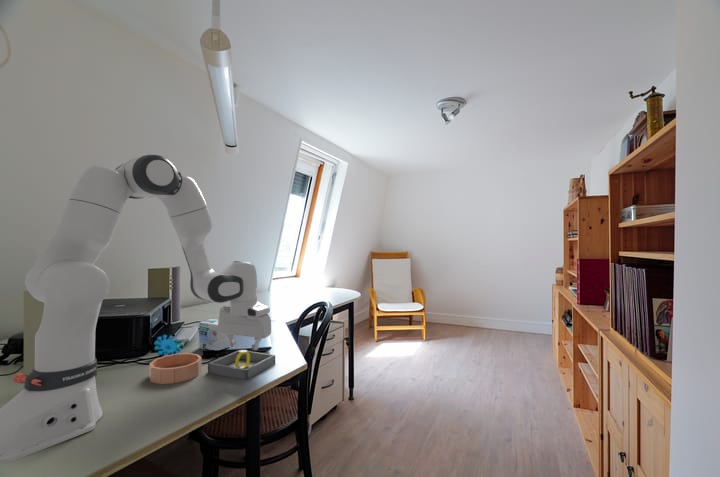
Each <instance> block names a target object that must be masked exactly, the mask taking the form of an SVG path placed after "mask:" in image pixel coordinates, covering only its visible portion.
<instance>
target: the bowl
mask: <svg viewBox="0 0 720 477" xmlns="http://www.w3.org/2000/svg"><path fill="white" fill-rule="evenodd" d="M202 358H203V357H202V356H201V355H200V354H196V353H190V352H188V353H187V352H185V353H184V352H183V353H182V352H179V354H175V353H173V355H171V354H168V355H167V356H164V355H162V356H161V357H157V358H154V360H152V361H151V362H150V363H149V368H148V370H149V373H148V374H149V375H148V376H149V381H150V382H151V383H155V384H159V385H165V384H166V385H167V384H169V385H170V384H171V385H172V384H177V383H181V382H186V381H190V380H192V379H194V378H196V377H198V376H199V375H200V374H201V373H202V369H203V368H202V366H203V365H202V363H203V361H202V360H203V359H202Z"/></svg>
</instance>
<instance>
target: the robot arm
mask: <svg viewBox="0 0 720 477" xmlns="http://www.w3.org/2000/svg"><path fill="white" fill-rule="evenodd" d="M154 197H155V198H157V199H159V201H160V202H162V203H163V205H164V207H165V208H166V211H167V214H168V216H169V219H170V221H171V224H172V226H173V228H174V230H175V232H176V235H177V237H178V239H179V242H180V245H181V247H182V248H181V249H182V251H183V254H184V256H185V260H186V263H187V266H188V269H189V272H190V273H189V274H190V284H189V285H190V286H189V287H190V292H191V293H192V294H193V296H194V297H196V298H197V299H199V300H203V301H210V302H212V303H218V304H221V303H226V302H230V303H229V306H227V305H223V306H222V307H220V309H219V316H218V319H217V320H218V331H219V332H220V333H226V334H227V338H228V340H229V342H230V347H232V348H234V347H237V340H235V338H234V336H235V335H236V336H241V337H250V338H253V340H254V341H255V342H254V343H253V344H251V350H252V351H253V350H254V351H257V350H259V345H260V343H261V341H262V339H266V338H268V337H270V336H271V334H272V319H271V316H270V315H269V313H270V311H271V309H270V306H267V305H265V304H263V303H261V302H260V301H258V296H257V289H258V288H257V287H258V276H257V269H256V265H255V264H253V262H249V261H242V260H241V261H240V260H234V261H232V262H231V263H230V264H229V265H228V266H226V267H225V268H223V269H221V270H219V271H215V270H214V269H213V268H212V266H211V265H210V262H209V259H208V256H207V251H206V249H205V243H204V242H205V239H206V237H207V236H208V234H210V232H211V230H212V227H213V223H212V222H213V221H212V215H211V212H210V210H209V207H208V205H207V202H206V200H205V197H204V196H203V193H202V191H201V189H200V188H199V185H198V184H197V182H196V180H194V178H192V177H190V176H188V175H183V174H182V173H181V172H180V171H179V170H178V169H177V167H176V166H175V165H174V164H173V163H172V161H171V160H169V159H168V158H166V157H164V156H162V155H159V154H146V155H142V156H140V157H135V158H132V159H130V160H128V161H126V162H125V163H122V164H121V165H119V166H117V167H116V168H113V167H110V166H107V165H92V166H90V167H88V168H86V169H85V170H84V171H83V173H82V175H81V176H80V177H79V179H78V180H77V182H76V184H75V185H74V187H73V189H72V191H71V193H70V195H69V197H68V200H67V203H66V204H65V208H64V209H63V212H62V215H61V218H60V220H59V223H58V225H57V227H56V229H55V231H54V234H53V235H52V236H51V238H50V240H49V241H48V242H47V244H46V246H45V247H44V249H43V251H42V252H41V253H40V255H39V256H38V258H37V261H36V262H35V264H34V266H33V267H31V268H30V270H28V272H27V273H26V276H25V279H24V280H25V282H24V283H25V287H26V290H27V292H29V294H30V296H32V297H33V299H35V300H37V301H40V302H41V303H43V312H42V316H41V321H40V324H39V327H38V330H37V331H36V333H35V335H34V367H33V369H32V371H31V372H29V374H25V373H22V372H20V373H17V374H15V375H14V376H13V378H12V381H13V382H14V383H16V384H20V385H23V384H24V388H23V389H22V390H21V391H20V392H18V393H17V394H16V395H14V397H13V398H11V399H10V400H9V401H8V402H7V403H6V404H5V405H3V406H2V407H1V408H0V464H8V463H11V462H13V461H14V462H15V461H16V460H19V459H22V458H24V457H26V456H29V455H32V454H34V453H37V452H40V451H42V450H45V449H47V448H50V447H52V446H54V445H57V444H60V443H62V442H66V441H68V440H70V439H73V438H76V437H78V436H81V435H83V434H85V433H89V432H91V431H93V430H94V429H95V428H96V423H98V421H99V420H100V419H101V418H102V416H103V414H104V413H103V410H102V407H101V405H100V401H99V396H98V391H97V384H96V379H97V374H98V360H97V358H96V328H97V323H98V319H99V314H100V311H101V307H102V304H103V300H105V299H106V297H107V295H108V294H109V292H110V288H111V281H110V277H109V276H108V274H107V273H106V272H105V271H104V270H103V269H102V268H101V267H99V266H96V265H95V263H96V262H97V260H98V259H99V257H100V256H101V254H102V253H103V251H104V250H105V249H106V248H107V247H108V246H109V245H110V244H111V243H112V239H113V236H114V234H115V232H116V229H117V226H118V222H119V220H120V218H121V215H122V212H123V208H124V204H126V202H127V200H128V199H139V200H140V199H144V198H147V199H148V198H154Z"/></svg>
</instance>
